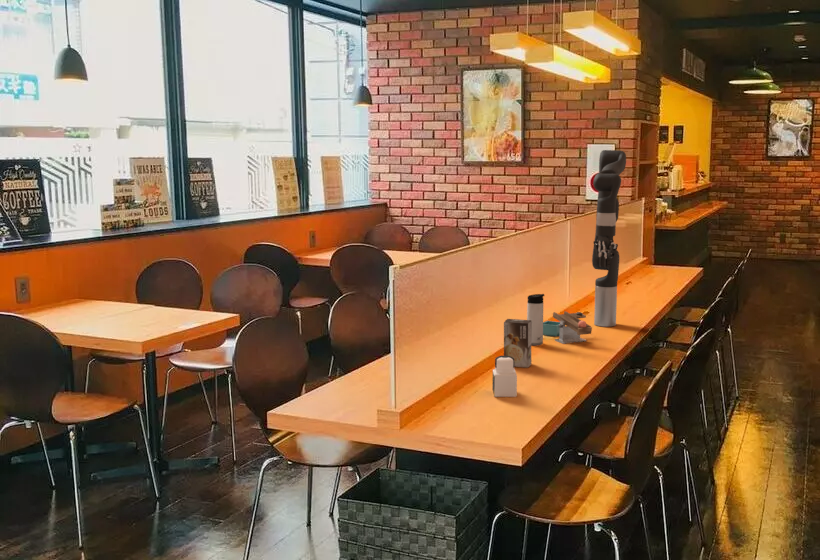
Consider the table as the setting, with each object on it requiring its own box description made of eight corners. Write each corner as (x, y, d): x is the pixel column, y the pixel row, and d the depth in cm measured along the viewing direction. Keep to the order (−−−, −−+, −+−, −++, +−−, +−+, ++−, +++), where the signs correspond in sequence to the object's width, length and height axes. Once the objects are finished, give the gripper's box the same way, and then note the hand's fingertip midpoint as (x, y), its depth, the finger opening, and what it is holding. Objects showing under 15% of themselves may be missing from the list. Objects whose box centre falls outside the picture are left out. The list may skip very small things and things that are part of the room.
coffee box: (532, 363, 308) (532, 319, 305) (528, 368, 302) (529, 323, 299) (507, 361, 311) (507, 318, 308) (502, 365, 305) (503, 321, 302)
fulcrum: (578, 338, 347) (578, 317, 346) (586, 341, 342) (587, 320, 341) (554, 340, 343) (555, 319, 342) (562, 343, 338) (563, 322, 336)
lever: (580, 316, 353) (580, 309, 353) (606, 332, 337) (607, 325, 336) (552, 318, 348) (553, 312, 348) (578, 335, 332) (578, 328, 331)
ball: (579, 322, 337) (582, 317, 334) (585, 327, 336) (589, 322, 334) (575, 326, 335) (578, 322, 332) (581, 331, 334) (585, 327, 332)
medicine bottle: (492, 390, 274) (492, 354, 272) (514, 390, 274) (515, 354, 272) (493, 397, 267) (494, 359, 265) (516, 397, 267) (517, 359, 265)
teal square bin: (546, 331, 361) (547, 320, 360) (563, 333, 357) (564, 322, 356) (539, 334, 354) (539, 323, 354) (556, 336, 350) (556, 325, 349)
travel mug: (543, 346, 334) (544, 295, 331) (526, 345, 336) (526, 295, 332) (544, 342, 340) (544, 292, 337) (527, 341, 342) (528, 292, 338)
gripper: (587, 223, 346) (586, 265, 348) (608, 225, 333) (607, 269, 336) (603, 222, 348) (602, 264, 351) (624, 225, 336) (623, 268, 338)
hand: (604, 266), depth 343 cm, fingers open, 3 cm apart
